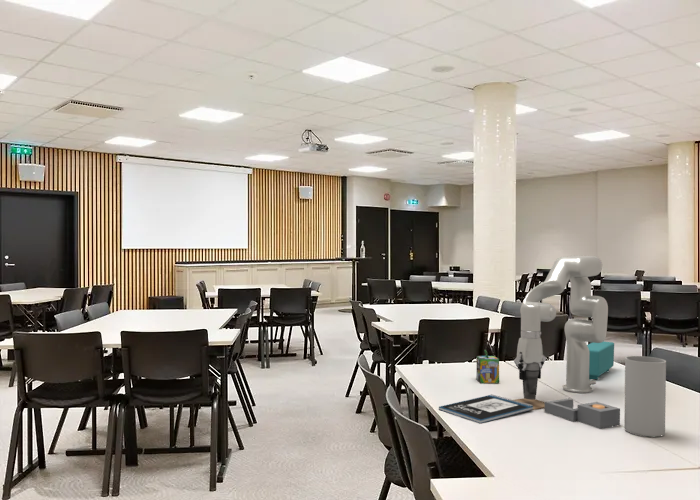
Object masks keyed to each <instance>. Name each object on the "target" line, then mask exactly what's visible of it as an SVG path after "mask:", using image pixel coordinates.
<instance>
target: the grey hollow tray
mask: <svg viewBox="0 0 700 500" xmlns="http://www.w3.org/2000/svg"><path fill="white" fill-rule="evenodd" d="M544 402H545V408H544V413H546V414H547V415H551V416H555V417H557V418H560V419H564V420H566V421H569V422H572V423H575V422H578V423H580V424H584V425H588V426H591V427H593V428H597V429H599V430H601V429H606V428H607V429H608V428H612V426H613V427H618V426H617V425H619V426H621V408H620V407H616V406H613V405H609V404H605V403H601V402H598V401H594V402H588V403H581V404H577V408H574V399H572V398H561V399H555V400H549V401H544ZM594 404H599V405H603V406H605V408H603V409H597V408H594V407H593V405H594Z"/></svg>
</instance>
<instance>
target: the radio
mask: <svg viewBox="0 0 700 500" xmlns="http://www.w3.org/2000/svg"><path fill="white" fill-rule="evenodd" d="M586 345H587V346H588V348H589V380H590V379H597V380H598V379H599V377H600V376H601V375H603V374H605V372H606V371H610V369H611V368H613V367H614V361H615V343H614V342H612V341H605V340H604V341H603V342H601V343H593V342H589V344H586ZM606 373H607V372H606Z"/></svg>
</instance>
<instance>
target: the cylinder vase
mask: <svg viewBox="0 0 700 500" xmlns="http://www.w3.org/2000/svg"><path fill="white" fill-rule="evenodd" d="M624 360H625V361H624V419H623V420H624V422H623V423H624V424H623V425H624V426H623V427H624V430H625V431H626V432H628V433H629V432H630V433H629V434H632V435H635V434H636V435H635V436H639V435H641V436H640V437H644V436H661V435H663V436H665V434H666V393H667V392H666V391H667V389H666V387H667V385H666V384H667V380H666V379H667V377H666V376H667V360H666V359H663V358H659V357H653V356H644V355H631V356H629V355H627V356H625V359H624ZM661 437H662V436H661Z"/></svg>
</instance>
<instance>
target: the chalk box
mask: <svg viewBox="0 0 700 500" xmlns="http://www.w3.org/2000/svg"><path fill="white" fill-rule="evenodd" d="M484 354H485V355H476V375H475V376H476V380H477V382H479V383H478V384H500V358H498V357H496V356H495V355H489V353H488V351H487V349H484Z"/></svg>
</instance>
